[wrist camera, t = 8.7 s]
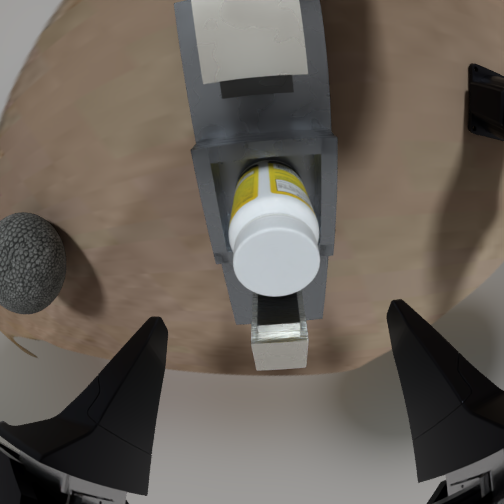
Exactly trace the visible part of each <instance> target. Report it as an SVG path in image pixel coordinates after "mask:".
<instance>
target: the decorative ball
mask: <svg viewBox="0 0 504 504" xmlns="http://www.w3.org/2000/svg"><path fill="white" fill-rule="evenodd" d="M65 274H66V255H65V250H64V246H63V243H62V241H61V238H60V236H59V235H58V233H57V231H56V230H55V229H54V227H53V226H52V225H51V224H50V223H49V222H48V221H46V220H45V219H43V218H42V217H40V216H38V215H35V214H32V213H24V212H23V213H15V214H12V215H9V216H7V217H5V218H4V219H2V220H1V221H0V305H1V306H3V307H4V308H6V309H8V310H10V311H12V312H15V313H19V314H33V313H36V312H39V311H41V310H43V309H44V308H46V307H47V306H48V305H50V304H51V303H52V302H53V300H54V299H55V298H56V297H57V295H58V293H59V292H60V290H61V288H62V285H63V282H64V279H65Z"/></svg>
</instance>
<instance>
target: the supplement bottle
mask: <svg viewBox="0 0 504 504" xmlns="http://www.w3.org/2000/svg"><path fill="white" fill-rule="evenodd" d="M318 240H319V226H318V221H317V218H316V216H315V213H314V210H313V208H312V205H311V202H310V200H309V197H308V195H307V192H306V190H305V187H304V185H303V182H302V180H301V178H300V176H299V174H298V173H297V172H296V171H295V170H294V169H293V168H292V167H291V166H290V165H288V164H286V163H284V162H281V161H277V160H263V161H259V162H257V163H254V164H252V165H250V166H249V167H248V168H246V169H245V170H244V171H243V172H242V174H241V175H240V177H239V179H238V181H237V184H236V189H235V194H234V200H233V206H232V212H231V219H230V225H229V242H230V246H231V249H232V251H233V253H234V254H233V268H234V272H235V274H236V277H237V278H238V280H239V281H240V282H241V284H242V285H244V286H245V287H246V288H247V289H249V290H251V291H253V292H255V293H257V294H260V295H264V296H273V297H276V296H285V295H289V294H293V293H295V292H298V291H300V290H301V289H303V288H305V287H306V286H307V285H308V284H309V283H310V282H311V281H312V280H313V279H314V278H315V276H316V274H317V272H318V270H319V266H320V254H319V250H318V245H317V244H318Z"/></svg>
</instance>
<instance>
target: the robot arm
mask: <svg viewBox="0 0 504 504" xmlns="http://www.w3.org/2000/svg"><path fill="white" fill-rule="evenodd" d="M474 67H475V70H474ZM469 71H470V102H469V121H468V130H469V131H470V132H471V133H473V134H477V135H481V136H486V137H490V138H494V139H498V140H502V141H504V76H502V75H500V74H498V73H496V72H494V71H491V70H489V69H487V68H485V67H482V66H480V65H477V64H473V63H471V64H470V66H469ZM473 127H474V128H473ZM387 323H388V328H389V334H390V339H391V345H392V351H393V355H394V359H395V363H396V366H397V370H398V374H399V378H400V382H401V386H402V390H403V395H404V399H405V403H406V407H407V413H408V417H409V423H410V429H411V434H412V440H413V447H414V453H415V460H416V468H417V477H418V482H419V483H420V482H423V481H426V480H430V479H433V478H436V477H439V476H442V475H445V474H446V480H444V481H442V482H441V483H440V484H439V486H438V487H437V489H436V491H435V492H434V494H433V495H432V497H431V498H430V500H429V501H428V502H427V504H504V391H503V390H501V389H500V388H498V387H497V386H496V385H495V384H494V383H492V382H491V381H490V380H489V379H488V378H487V377H485V376H484V375H483V374H482V373H480V372H479V371H478V370H477V369H476V368H475V367H474V366H473V365H472V364H470V363H469V362H468V361H467V360H466V359H465V358H464V357H463V356H462V355H461V354H460V353H458V351H457V350H456V349H455V348H454V347H453V346H452V345H451V344H450V343H449V342H448V341H447V340H446V339H445V338H444V337H442V335H441V334H439V333H438V332H437V331H436V330H435V329H434V328H433V327H432V326H431V325H430V324H429V323H428V322H427V321H425V320H424V319H423V318H422V317H421V316H420V315H419V314H418V313H417V312H416V311H414V310H413V309H412V308H411V307H410V306H409V305H408V304H407V303H405V302H404V301H403V300H402V299H398V300H393V301H392V302H391V304H390V307H389V310H388V312H387ZM167 341H168V330H167V328H166V326H165V324H164V322H163V320H162V318H161V317H150V318H149V319H148V320H147V321H146V322H145V323H144V324H143V325H142V327H141V328H140V329H139V330H138V331H137V332H136V333H135V334H134V335H133V336H132V337H131V339H130V340H129V341H128V342H127V343H126V344H125V345H124V346H123V347H122V348H121V350H120V351H119V352H118V353H117V354H116V355H115V356H114V357H113V359H112V360H111V361H110V362H109V363H108V364H107V365H106V366H105V368H104V369H103V370H102V371H101V372H100V373H99V375H98V376H97V377H96V378H95V379H94V380H93V381H92V382H91V383H90V385H88V387H87V388H86V389H85V390H84V391H83V392H82V393H81V394H80V395H79V396H78V397H77V398H76V399H75V400H74V401H73V402H71V403H70V404H69V405H68V406H67V407H66V408H65V409H64V410H63V411H62V412H61V413H60V414H58V415H57V416H55V417H53V418H51V419H48V420H43V421H38V422H34V423H29V424H24V425H18V426H11V425H8V424H7V423H6V422H4V421H1V422H0V436H1V437H2V438H4V439H5V440H7V441H8V442H9V443H11V444H12V445H13V446H15V447H16V448H18V449H19V450H20V453H19V452H17V451H16V450H14V449H12V448H10V447H8V446H7V445H5V444H3V443H2V442H0V504H129V503H128V502H127V500H126V494H127V492H130V493H135V494H139V495H145V496H147V494H148V483H149V473H150V464H151V456H152V455H151V454H152V446H153V440H154V433H155V426H156V418H157V413H158V406H159V400H160V394H161V388H162V383H163V378H164V372H165V365H166V353H167Z"/></svg>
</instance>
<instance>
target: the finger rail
mask: <svg viewBox="0 0 504 504" xmlns="http://www.w3.org/2000/svg"><path fill="white" fill-rule="evenodd" d="M174 8H175V16H176V23H177V31H178V38H179V45H180V51H181V58H182V64H183V71H184V77H185V83H186V89H187V95H188V101H189V107H190V112H191V118H192V124H193V129H194V134H195V140H196V145H195V146H194V147H193V148H192V149H191V154H192V159H193V164H194V169H195V174H196V178H197V183H198V188H199V192H200V197H201V202H202V206H203V210H204V215H205V219H206V224H207V228H208V232H209V237H210V241H211V245H212V249H213V253H214V257H215V261H216V264H222V268H223V272H224V277H225V281H226V285H227V289H228V293H229V297H230V302H231V306H232V310H233V314H234V318H235V322H236V325H238V324H252V329H251V347H252V351H253V356H254V361H255V365H256V370H257V371H259V370H279V369H294V368H306V363H307V353H308V341H309V340H308V332H307V325H306V320H314V319H322V318H323V309H324V300H325V290H326V279H327V267H328V256H331V255H333V251H334V238H335V222H336V202H337V137H336V136H335V135H334V134H333V133H332V132H331V109H330V91H329V76H328V64H327V53H326V44H325V35H324V27H323V19H322V12H321V5H320V0H185V1H181V2H177V3H174ZM263 160H277V161H281V162H284V163H286V164H288V165H290V166H291V167H292V168H293V169H294V170H295V171H296V172H297V173H298V174H299V176H300V178H301V180H302V182H303V185H304V187H305V190H306V192H307V195H308V197H309V200H310V202H311V205H312V208H313V210H314V213H315V216H316V218H317V221H318V226H319V240H318V244H317V245H318V250H319V254H320V266H319V270H318V272H317V274H316V276H315V278H314V279H313V280H312V281H311V282H310V283H309V284H308V285H307V286H306V287H305V288H303V289H301V290H300V291H298V292H295V293H293V294H289V295H285V296H276V297H273V296H264V295H260V294H257V293H255V292H253V291H251V290H249V289H247V288H246V287H245V286H244V285H242V284H241V282H240V281H239V280H238V278H237V277H236V274H235V272H234V268H233V254H234V253H233V251H232V249H231V246H230V242H229V225H230V219H231V212H232V206H233V200H234V194H235V189H236V184H237V181H238V179H239V177H240V175H241V174H242V172H243V171H244V170H245V169H246V168H248V167H249V166H250V165H252V164H254V163H257V162H259V161H263Z"/></svg>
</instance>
